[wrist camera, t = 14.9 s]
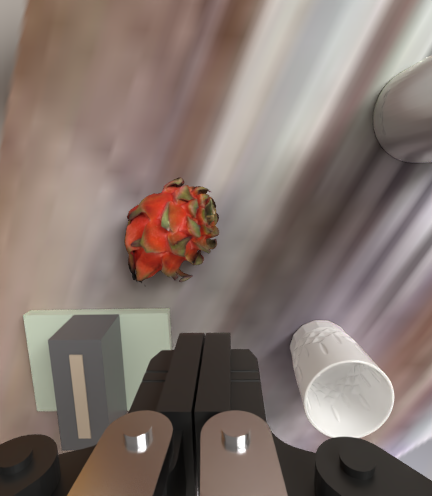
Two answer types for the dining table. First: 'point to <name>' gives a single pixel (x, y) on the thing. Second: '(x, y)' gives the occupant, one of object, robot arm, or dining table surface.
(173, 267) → the dragon fruit
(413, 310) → the dining table surface
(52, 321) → the board
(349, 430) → the white cup
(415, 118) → the robot arm
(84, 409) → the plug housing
